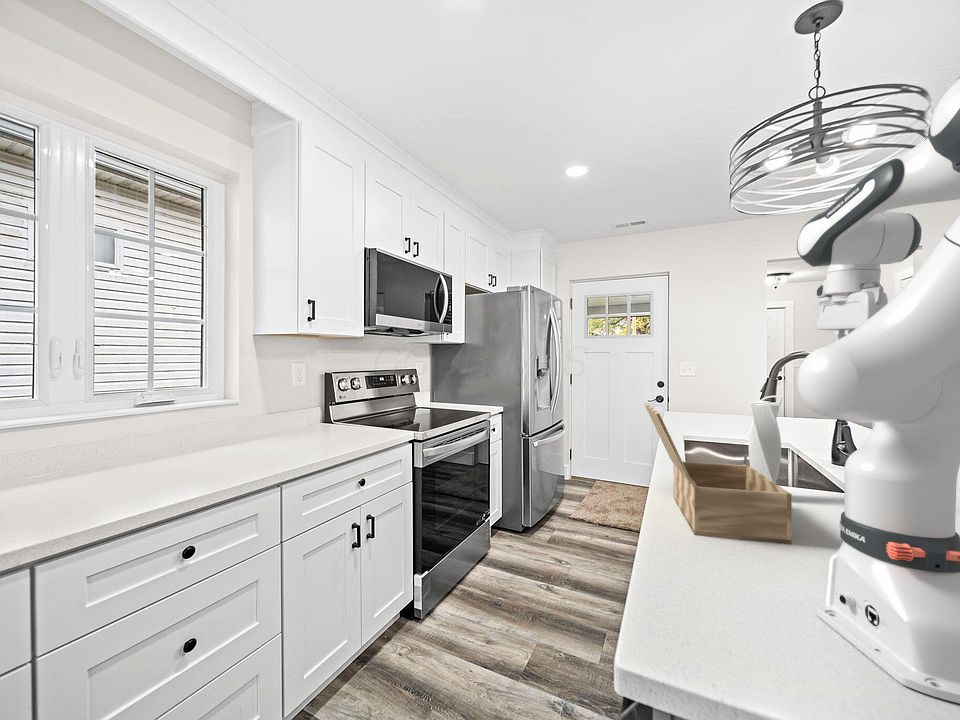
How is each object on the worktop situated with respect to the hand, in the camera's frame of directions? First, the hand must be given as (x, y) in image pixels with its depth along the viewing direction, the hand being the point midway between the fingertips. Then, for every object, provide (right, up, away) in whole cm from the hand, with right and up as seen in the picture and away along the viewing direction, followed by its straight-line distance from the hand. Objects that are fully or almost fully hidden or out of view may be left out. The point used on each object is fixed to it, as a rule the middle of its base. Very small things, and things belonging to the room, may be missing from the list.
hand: (845, 351), depth 94 cm
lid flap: (-33, -21, +12) cm, 41 cm away
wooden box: (-21, -39, +8) cm, 45 cm away
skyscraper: (-1, -40, +25) cm, 47 cm away
